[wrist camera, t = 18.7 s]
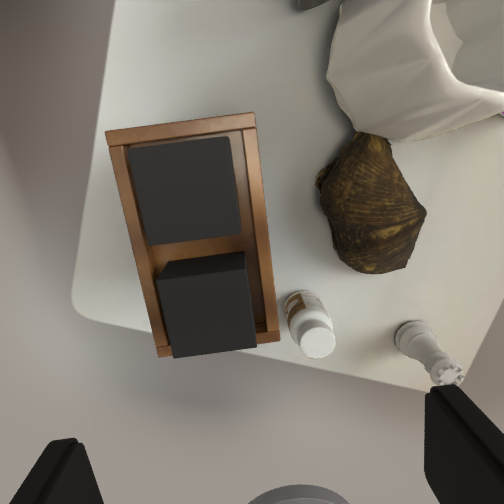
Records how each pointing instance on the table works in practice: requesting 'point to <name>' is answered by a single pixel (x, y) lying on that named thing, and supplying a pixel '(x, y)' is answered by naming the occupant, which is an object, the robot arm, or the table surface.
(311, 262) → the table surface
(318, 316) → the pill bottle
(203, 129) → the box
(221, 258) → the black square block
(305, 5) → the streaming box
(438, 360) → the rook chess piece
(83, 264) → the table surface
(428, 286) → the table surface
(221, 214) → the black cube
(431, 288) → the table surface
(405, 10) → the vase
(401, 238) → the seashell
